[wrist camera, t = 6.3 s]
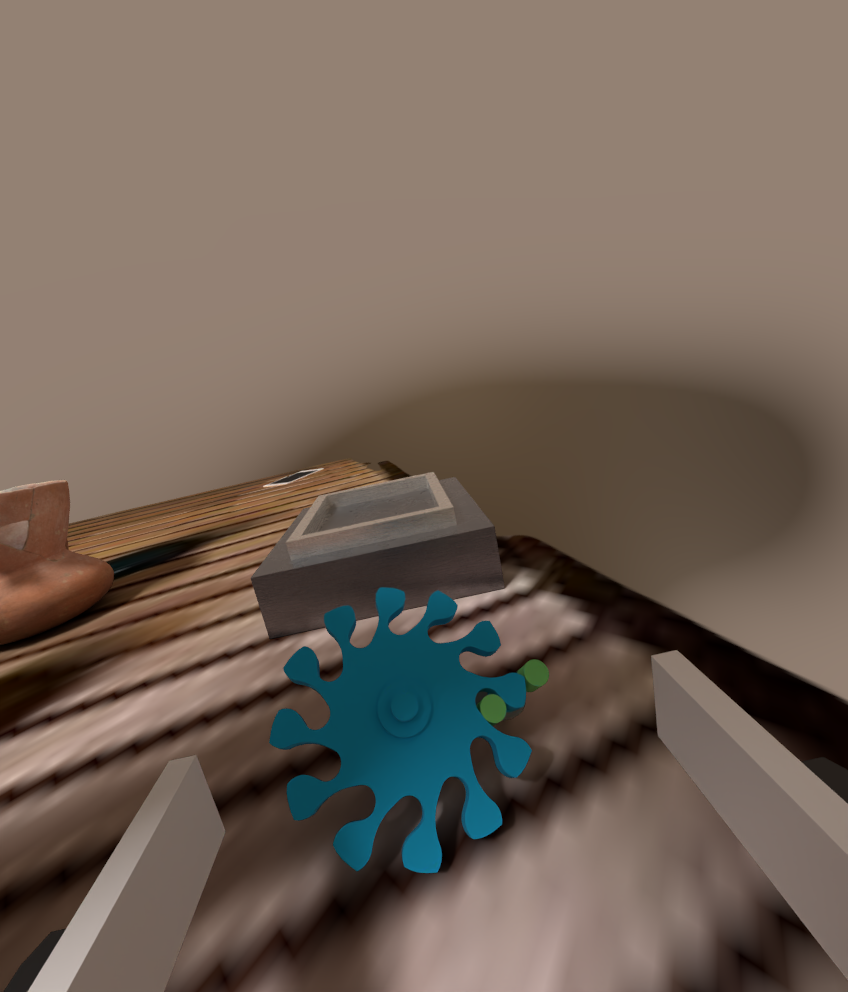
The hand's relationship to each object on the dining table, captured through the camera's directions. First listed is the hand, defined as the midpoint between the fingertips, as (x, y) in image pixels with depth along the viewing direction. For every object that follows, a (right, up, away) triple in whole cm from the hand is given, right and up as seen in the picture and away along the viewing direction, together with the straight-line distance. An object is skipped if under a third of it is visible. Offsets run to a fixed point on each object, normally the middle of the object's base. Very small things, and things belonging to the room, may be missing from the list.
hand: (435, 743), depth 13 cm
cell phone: (-34, +11, +103) cm, 109 cm away
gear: (0, -5, +6) cm, 8 cm away
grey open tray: (-4, 0, +30) cm, 31 cm away
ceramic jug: (-40, -6, +34) cm, 53 cm away
